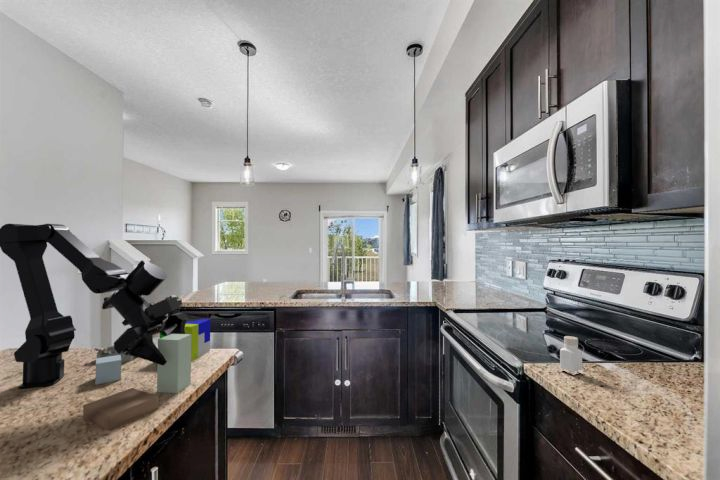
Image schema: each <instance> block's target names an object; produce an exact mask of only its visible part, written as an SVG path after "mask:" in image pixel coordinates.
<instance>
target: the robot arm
mask: <svg viewBox="0 0 720 480" xmlns="http://www.w3.org/2000/svg"><path fill="white" fill-rule="evenodd" d="M48 244H49V245H50V246H52V247H53V248H54V249H55V250H56V251H57V252H58V253H59V254H61V255H62V256H63V257H64V258H65V259H66V260H67V261H68V262H70V263H71V265H73V266H74V267H75V268H76V269H77V270H78V271H79V272H80V273H81V281H83V283H84V284H85V286H86V287H87V288H88V289H89V290H90V292H92V293H93V294H98V295H99V294H105V293H112V292H113V293H112V294H110V296H107V297H106V296H105V297H103V303H102V307H101V309H102V310H108V309H113V308H114V309H115V311H116V312H118V314H119V315H120V316H121V317H122V318H123V321H122V322H121V324H122V325H123V326H124V327H126V326H130V327H128V328H126V330H125V331H123V333H122V334H121V335H120V336H119V337H117V339H116V340H115V341H114V342H113V345H114V350H115V351H116V352H117V353H118V354H119V355H121V354H123V353H125V355H126V356H128V355H131V356H135V357H136V358H139V359H142V360H145V361H148V362H151V363H154V364H160V365H165V364H166V363H167V361H166V359H165V358H164V356H163V355H162V354H161V352H160V351H159V350H158V346H156V344H155V343H154V340H153V336H154V335H157V334H160V333H161V334H162V335H163V336H168V335H170V334H185V330H184V328H185V324H186V323H187V319H189V316H188V315H187V314H186V313H185V312H177V313H174V314H171V313H173V312H175V311H179V310H181V309H182V308H181V305H182V301H183V300H182V299H180V297H179V296H177V295H176V294H171V295H169V296H168V297H167V296H166V297H165V298H164V299H162V300H161V301H158V302H148V301H147V300H146V299H145V298H144V297H143V296H151V294H153V292H155V290H157V289H158V287H159V286H161V284H163V282H165V280H167V278H168V274H167V272H166V271H165V270H164V268H162V267H160V266H158V265H156V264H155V263H152V262H150V261H149V260H147V259H145V260H143V259H141V260H140V261H139V262H138V264H137V266H136V267H134V269H132V270H131V272H127V271H126V270H125V269H124V268H122V266H121V267H120V266H119V265H117V264H115V263H114V262H111V261H108V260H105V259H103V258H102V257H100V256H99V255H98V254H96V252H94V251H93V250H92V249H91V248H90V247H89V246H87V245H86V244H85V243H84V242H83V241H81V240H80V239H79V238H78V237H77V236H76V235H75V234H74V233H72V232H71V231H70V229H69V227H68V226H66V225H64V224H58V223H44V224H22V223H19V224H18V223H5V224H3V225H2V226H1V227H0V250H1V251H2V253H4V254H5V256H7V257H8V258H9V259H11V260H12V261H13V262H14V265H15V268H16V271H17V275H18V278H19V282H20V286H21V289H22V292H23V297H24V300H25V303H26V308H27V310H28V315H29V317H30V318H29V319H30V320H29V321H28V323H27V326H26V328H25V331H24V335H25V341H24V342H23V343H22V344H21V345H20V346H19V348H17V349H16V351H14V352H13V356H14V359H15V362H16V363H22V383H21V384H20V385H18V389H26V388H34V387H35V388H36V387H42V386H51V385H55V384H56V383H57V382H59V380H61V379H62V378H63V377H64V376H65V359H64V358H63V354H64V353H67V352H69V349H70V347H71V344H72V342H73V340H74V339H75V336H76V335H75V331H76V330H77V329H76V328H75V326H74V324H73V318H72V316H71V315H65V316H64V315H63V314H62V313H60V311H58V307H57V303H56V300H55V296H54V293H53V290H52V286H51V282H50V279H49V276H48V272H47V269H46V266H45V265H46V264H45V262H44V258H43V257H44V254H45V252H46V250H47V248H48ZM169 314H171V315H170V316H169Z"/></svg>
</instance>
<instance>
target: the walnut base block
mask: <svg viewBox="0 0 720 480" xmlns="http://www.w3.org/2000/svg"><path fill="white" fill-rule="evenodd" d="M159 398H160V397H159V395H156V394H153V393H150V392H146V391H144V390H139V389H137V388H133V387H131V388H128V389H125V390H123V391H120V392H117V393H114V394H111V395H108V396H105V397H102V398H100V399H97V400H95V401H91V402H88V403H86V404H83V407H82V408H83V409H82V419H83V420H84V421H87V422H89V423H92V424H93V425H96V426H99V427H101V428H103V429H105V430H107V431H111V430H114V429H117V428H119V427H120V426H122V425H125V424H128V423H130V422H132V421H134V420H137V419H139V418H141V417H144V416H146V415H148V414H150V413H153V412H155V411H157V410H159Z"/></svg>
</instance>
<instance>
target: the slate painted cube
mask: <svg viewBox="0 0 720 480" xmlns="http://www.w3.org/2000/svg"><path fill="white" fill-rule="evenodd" d="M121 379H122V362H121V355H115V356H109V357H102V358H97V357H96V359H95V381H94V382H95V384H94V385H101V384H106V383H111V382H116V381H121Z"/></svg>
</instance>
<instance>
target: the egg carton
mask: <svg viewBox="0 0 720 480" xmlns="http://www.w3.org/2000/svg"><path fill="white" fill-rule="evenodd" d="M94 351H95V352H96V358H102V357H109V356H115V355H119V354H118V353H117V352H116V351H115V350H114V344H113V345H111V346H107V348H103V349H101V348H97V347H94ZM135 358H137V357H135V356H131V355H128V356H126V355H125V353H123V354H121V363H126V362H132V361H133V360H134V359H135Z"/></svg>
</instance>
